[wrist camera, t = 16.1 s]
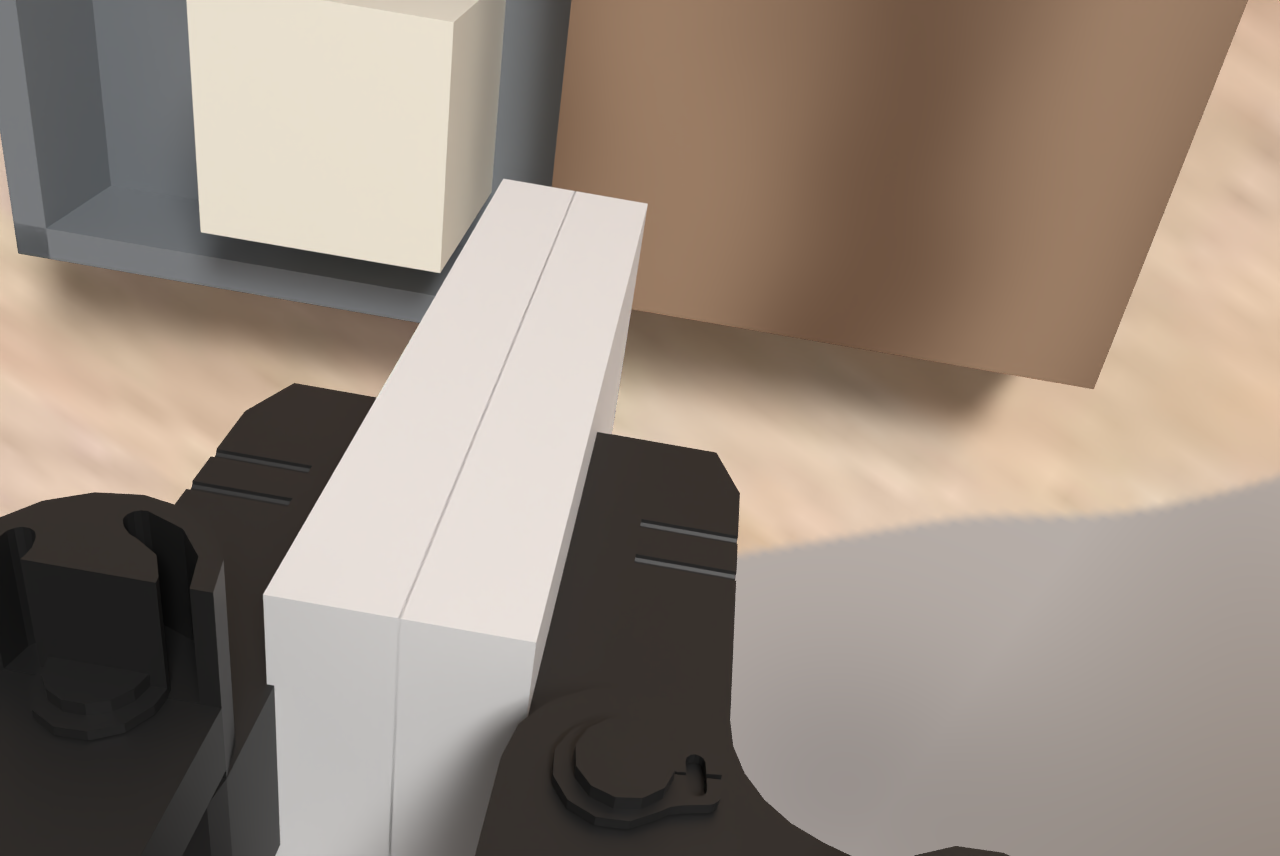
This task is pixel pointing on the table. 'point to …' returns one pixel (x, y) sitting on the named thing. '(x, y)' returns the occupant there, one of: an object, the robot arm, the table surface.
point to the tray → (166, 154)
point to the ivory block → (346, 122)
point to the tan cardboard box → (894, 163)
